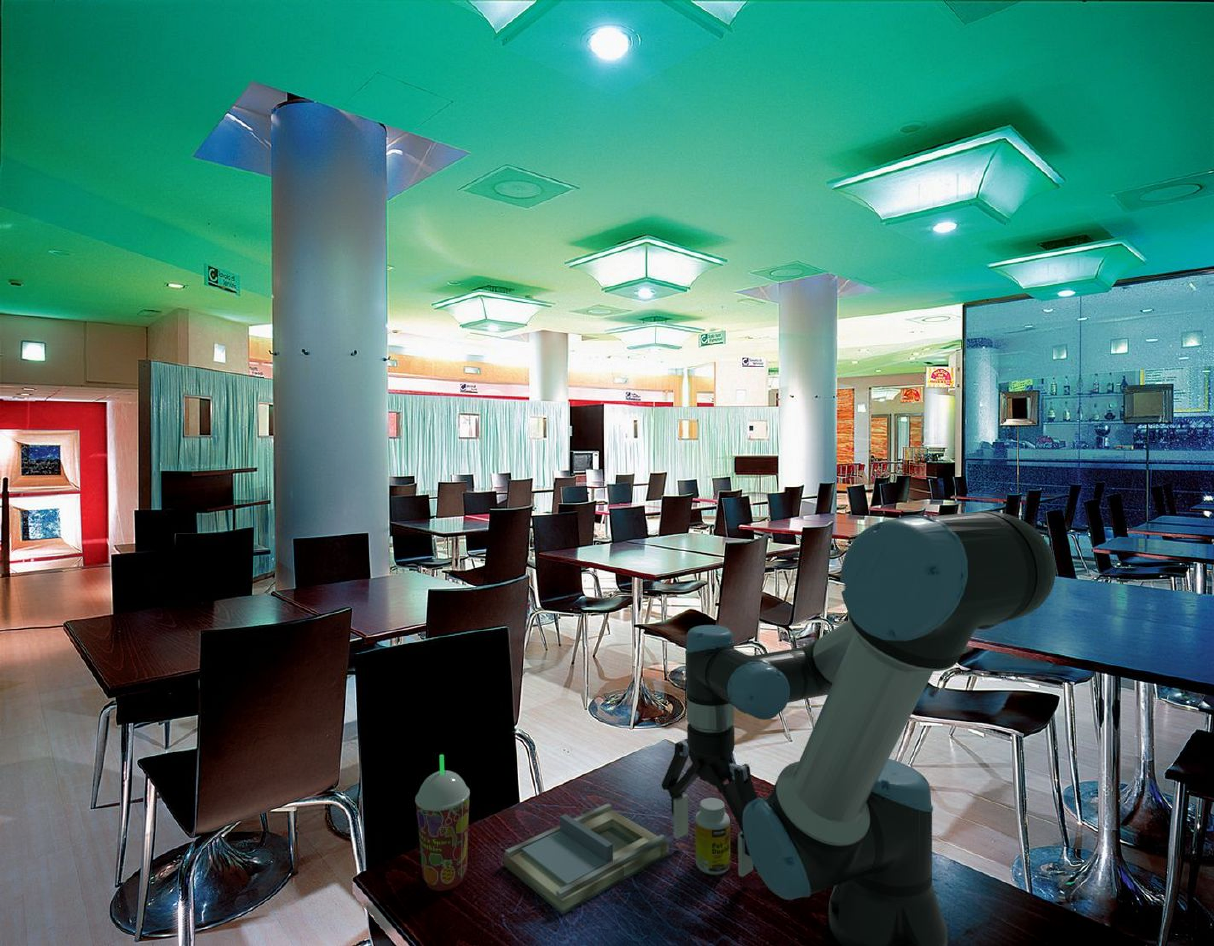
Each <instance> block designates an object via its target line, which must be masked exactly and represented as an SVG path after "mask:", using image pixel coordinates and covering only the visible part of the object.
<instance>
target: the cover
mask: <svg viewBox="0 0 1214 946" xmlns="http://www.w3.org/2000/svg"><path fill="white" fill-rule="evenodd" d="M574 819H575V818H573V817H571V816H570V815H569V814H567V813H565V814H564V813H563V814H562V815H560V816H559V825H560V831H559V832H556V833H554V834H552V835H550V836H548V837H546V838H543V839H541V840H539V841H537V842H535V843H533V844H531V845H528V846H526V847H524V848H522V853H524V854H525V855H526V856H527V857H529V858H530V859H531V860H533V861H534V862H535V863H537V864H538V865H539V866H540V867H542V868H543V869H544V870H546V871H547V872H548V873H550V874H551V875H552V876H553V877H555V878H556V879H557V880H559V881H560V882H561V883H562V884H564V885H565V886H566V885H568V884H570V883H572V882H574V881H575V880H577V879H579V878H581V877H583V876H585V875H587V874H589V873H591V872H592V871H594V870H596V869H598V868H600V867H602V866H604V865H606V864H607V863H609V862H611V861H613V844H612V843H610V842H609V841H607V840H606V839H604V838H603V837H601V836H599V835H598V834H596V833H595V832H593V831H592V830H590V829H589V828H587V827H585V826H584V825H582V824H581V823H579V822H578V821H576V820H574Z"/></svg>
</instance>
